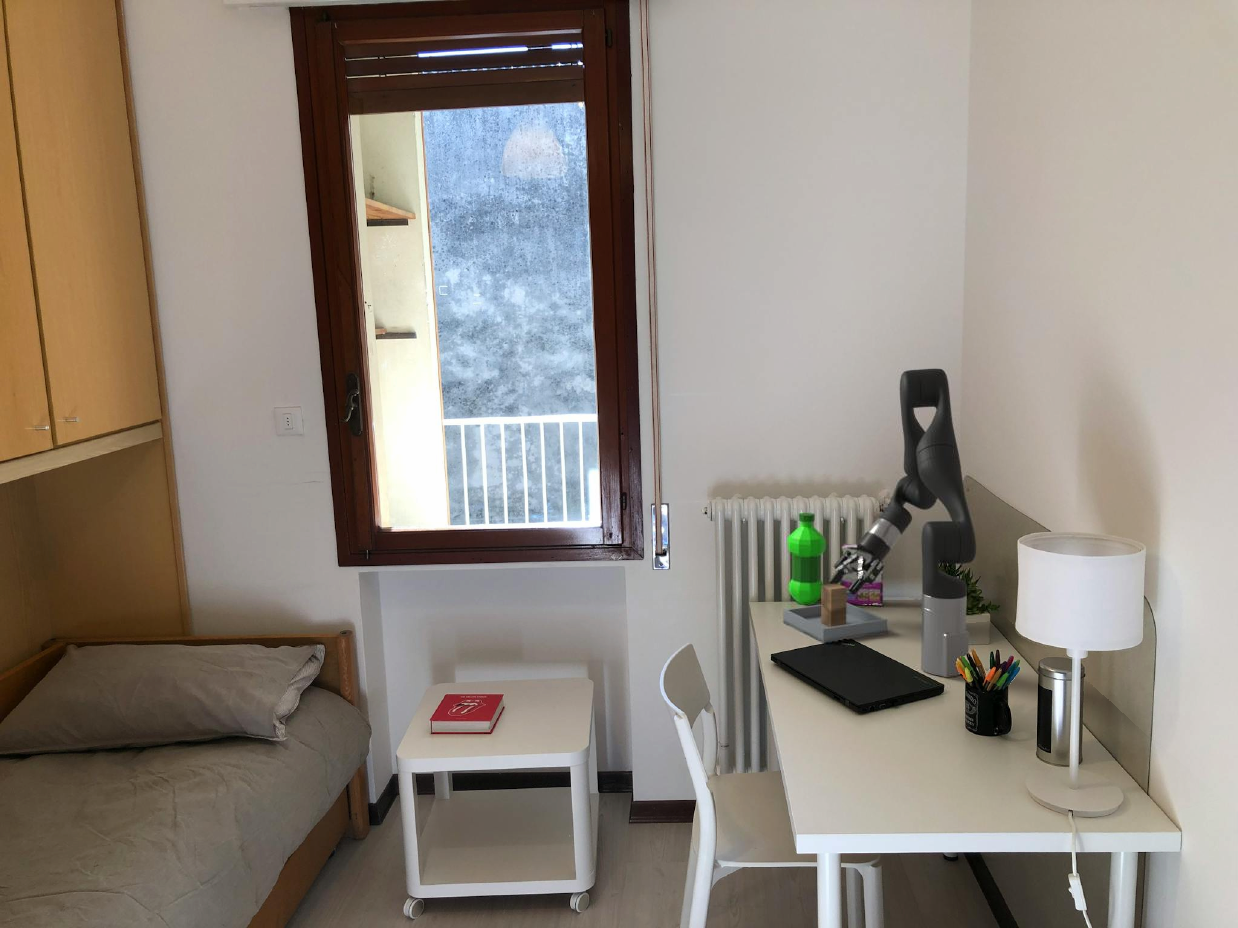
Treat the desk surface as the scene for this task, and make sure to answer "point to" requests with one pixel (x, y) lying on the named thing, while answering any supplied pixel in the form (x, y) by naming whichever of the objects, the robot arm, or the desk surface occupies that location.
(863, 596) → the candy bar box
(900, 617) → the desk surface
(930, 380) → the robot arm
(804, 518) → the plastic bottle
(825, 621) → the walnut block
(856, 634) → the box
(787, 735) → the desk surface
